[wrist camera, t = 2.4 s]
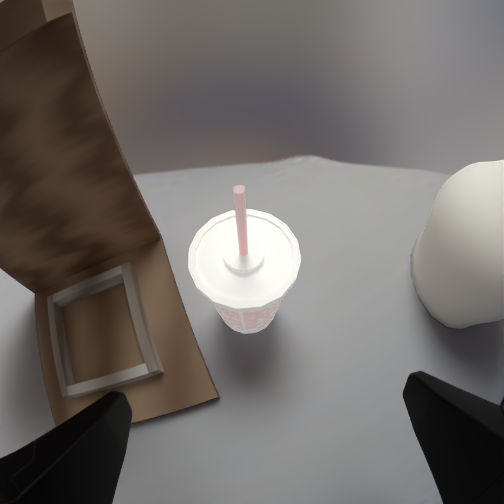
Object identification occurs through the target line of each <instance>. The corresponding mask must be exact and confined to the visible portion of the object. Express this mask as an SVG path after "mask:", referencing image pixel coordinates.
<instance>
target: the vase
mask: <svg viewBox="0 0 504 504" xmlns="http://www.w3.org/2000/svg"><path fill="white" fill-rule="evenodd" d="M410 256H411V277H412V279H413V282H414V285H415V288H416V291H417V294H418V297H419V298H420V300H421V301H422V303H423V304H424V306H425V307H426V309H427V310H428V312H429V313H430V315H431V316H433V317H434V318H435V319H437V320H438V321H439V322H441V323H442V324H444V325H445V326H446V327H450V328H456V329H465V328H467V327H469V326H472V325H476V324H481V323H488V322H494V321H499V320H503V319H504V160H499V161H490V162H479V163H473V164H471V165H468V166H466V167H464V168H463V169H461V170H460V171H458V172H457V173H455V174H454V175H453V176H451V177H450V178H449V179H448V180H447V181H446V182H445V183H444V184H443V186H442V187H441V189H440V190H439V192H438V194H437V196H436V198H435V201H434V203H433V206H432V208H431V211H430V214H429V217H428V220H427V222H426V225H425V227H424V229H423V231H422V233H421V235H420V236H419V237H418V239H417V240H416V242H415V245H414V247H413V250H412V253H411V255H410Z"/></svg>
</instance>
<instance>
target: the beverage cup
mask: <svg viewBox="0 0 504 504" xmlns="http://www.w3.org/2000/svg"><path fill="white" fill-rule="evenodd" d="M233 194H234V204H235V210H234V211H229V212H226V213H224V214H221V215H219V216H217V217H214V218H212V219H211V220H210V221H209V222H207V223H206V224H205V225H204V226H203V227H202V228H201V229H200V230H199V231H198V232H197V233H196V235H195V237H194V240H193V242H192V244H191V246H190V248H189V261H188V269H189V271H190V273H191V276H192V278H193V280H194V282H195V285H196V287H197V289H198V290H199V291H200V293H201V294H202V295H204V296H205V297H206V298H207V299H208V300H209V301H210V302H212V303H213V305H214V306H215V308H216V309H217V311H218V312H219V314H220V315H221V317H222V318H223V320H224V321H225V323H226V324H227V325H228V326H230V327H231V328H232V329H233V330H235V331H238V332H241V333H244V334H247V333H256V332H258V331H260V330H262V329H264V328H266V327H267V326H268V325H269V323H270V322H271V321H272V320H273V318H274V316H275V314H276V312H277V309H278V307H279V305H280V303H281V301H282V298H283V297H284V296H285V294H286V293H287V292H288V291H289V290H290V288H291V287H292V286H293V285H294V282H295V281H296V277H297V273H298V270H299V266H300V262H301V256H300V251H299V246H298V241H297V239H296V238H295V236H294V235H293V233H292V232H291V230H290V229H289V228H288V226H287V225H286V224H285V223H283V222H282V221H280V220H278V219H277V218H275V217H274V216H272V215H271V214H268V213H264V212H260V211H256V210H252V209H247V210H246V194H245V187H244V186H243V185H236V186H235V187H234V188H233Z"/></svg>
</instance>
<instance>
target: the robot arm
mask: <svg viewBox="0 0 504 504" xmlns="http://www.w3.org/2000/svg"><path fill="white" fill-rule="evenodd" d="M403 399H404V402H405V405H406V408H407V411H408V414H409V417H410V420H411V423H412V426H413V429H414V432H415V434H416V437H417V439H418V441H419V444H420V446H421V448H422V451H423V453H424V455H425V458H426V460H427V462H428V465H429V467H430V470H431V472H432V475H433V477H434V480H435V482H436V485H437V488H438V490H439V493H440V496H441V498H442V501H443V504H504V407H500V406H499V405H497V404H494V403H492V402H489V401H487V400H485V399H482V398H480V397H478V396H476V395H473V394H471V393H469V392H466V391H464V390H462V389H460V388H457V387H455V386H453V385H451V384H449V383H446V382H444V381H442V380H440V379H438V378H435V377H433V376H431V375H429V374H427V373H425V372H423V371H417V372H414V373H411V374H410V375H409V376H408V379H407V382H406V385H405V387H404V390H403ZM131 420H132V409H131V406H130V404H129V402H128V400H127V397H126V395H125V394H124V393H123V392H120V391H114V390H113V391H110V392H108V393H107V394H106V395H104V396H103V397H101V398H100V399H98V400H97V401H95V402H94V403H92V404H91V405H89V406H88V407H86V408H85V409H83V410H81V411H80V412H78V413H77V414H75V415H74V416H72V417H71V418H69V419H68V420H66V421H65V422H63V423H61V424H60V425H58V426H57V427H55V428H54V429H52V430H50V431H49V432H47V433H46V434H44V435H42V436H41V437H39V438H37V439H36V440H35V441H32V442H31V443H29V444H28V445H26V446H24V447H22V448H21V449H19V450H17V451H15V452H13V453H11V454H9V455H7V456H5V457H2V458H0V504H112V502H113V498H114V494H115V490H116V486H117V483H118V479H119V475H120V472H121V468H122V465H123V461H124V457H125V454H126V449H127V443H128V437H129V431H130V425H131Z"/></svg>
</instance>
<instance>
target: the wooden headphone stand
mask: <svg viewBox="0 0 504 504" xmlns="http://www.w3.org/2000/svg"><path fill="white" fill-rule="evenodd" d="M0 268H1V269H2V270H3V271H5V272H6V273H7V274H8V275H10V276H11V277H12V278H14V279H15V280H16V281H18V282H19V283H21V284H22V285H23V286H25V287H26V288H28V289H29V290H30V291H32V292H33V293H35V313H36V326H37V336H38V345H39V352H40V359H41V365H42V371H43V376H44V381H45V386H46V391H47V395H48V399H49V403H50V407H51V411H52V414H53V418H54V421H55V425H56V427H57V426H58V425H60V424H61V423H63V422H65V421H66V420H68V419H69V418H71V417H72V416H74V415H75V414H77V413H78V412H80V411H81V410H83V409H85V408H86V407H88V406H89V405H91V404H92V403H94V402H95V401H97V400H98V399H100V398H101V397H103V396H104V395H106V394H107V393H108V392H110V391H113V390H114V391H120V392H123V393H124V394H125V395H126V397H127V400H128V402H129V404H130V406H131V409H132V420H131V423H135V422H139V421H143V420H147V419H151V418H154V417H158V416H162V415H165V414H169V413H172V412H175V411H179V410H182V409H185V408H188V407H191V406H194V405H197V404H200V403H203V402H206V401H209V400H212V399H215V398H217V397H220V396H219V394H218V392H217V389H216V387H215V385H214V382H213V380H212V378H211V375H210V373H209V370H208V368H207V366H206V363H205V361H204V358H203V356H202V353H201V351H200V348H199V346H198V343H197V341H196V338H195V335H194V333H193V330H192V327H191V325H190V322H189V319H188V316H187V314H186V311H185V308H184V305H183V302H182V299H181V296H180V293H179V291H178V288H177V285H176V281H175V278H174V275H173V272H172V269H171V266H170V263H169V259H168V256H167V253H166V249H165V246H164V243H163V239H162V236H161V234H160V232H159V230H158V228H157V226H156V224H155V222H154V220H153V218H152V216H151V214H150V212H149V210H148V208H147V206H146V203H145V201H144V199H143V197H142V195H141V193H140V191H139V188H138V186H137V184H136V182H135V180H134V177H133V175H132V173H131V171H130V169H129V166H128V164H127V162H126V159H125V157H124V155H123V152H122V150H121V147H120V145H119V143H118V140H117V138H116V136H115V133H114V130H113V128H112V125H111V123H110V120H109V118H108V115H107V112H106V110H105V107H104V105H103V102H102V99H101V96H100V93H99V90H98V88H97V85H96V82H95V79H94V76H93V73H92V70H91V67H90V64H89V60H88V57H87V54H86V50H85V47H84V44H83V40H82V37H81V33H80V29H79V25H78V21H77V18H76V13H75V9H74V5H73V1H72V0H4V1H3V2H1V3H0Z"/></svg>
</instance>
